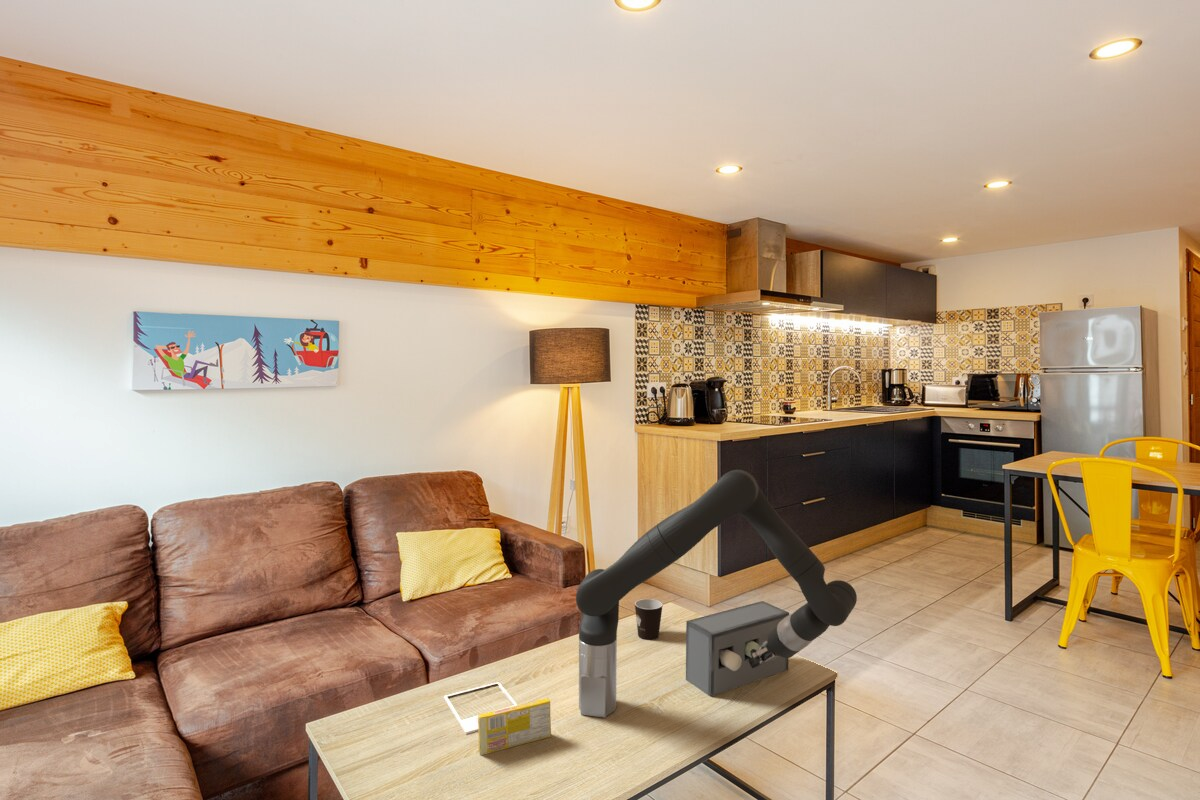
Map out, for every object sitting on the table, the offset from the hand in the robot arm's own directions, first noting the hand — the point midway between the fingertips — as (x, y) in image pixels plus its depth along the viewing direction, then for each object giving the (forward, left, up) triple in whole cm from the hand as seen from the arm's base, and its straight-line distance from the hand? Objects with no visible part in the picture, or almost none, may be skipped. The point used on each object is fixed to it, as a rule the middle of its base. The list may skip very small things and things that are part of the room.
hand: (752, 664), depth 157 cm
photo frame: (-21, +64, -9) cm, 68 cm away
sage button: (+9, +2, -2) cm, 10 cm away
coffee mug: (+31, +32, -9) cm, 45 cm away
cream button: (+1, +6, -2) cm, 7 cm away
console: (+11, +4, -9) cm, 14 cm away
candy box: (-33, +51, -9) cm, 61 cm away
